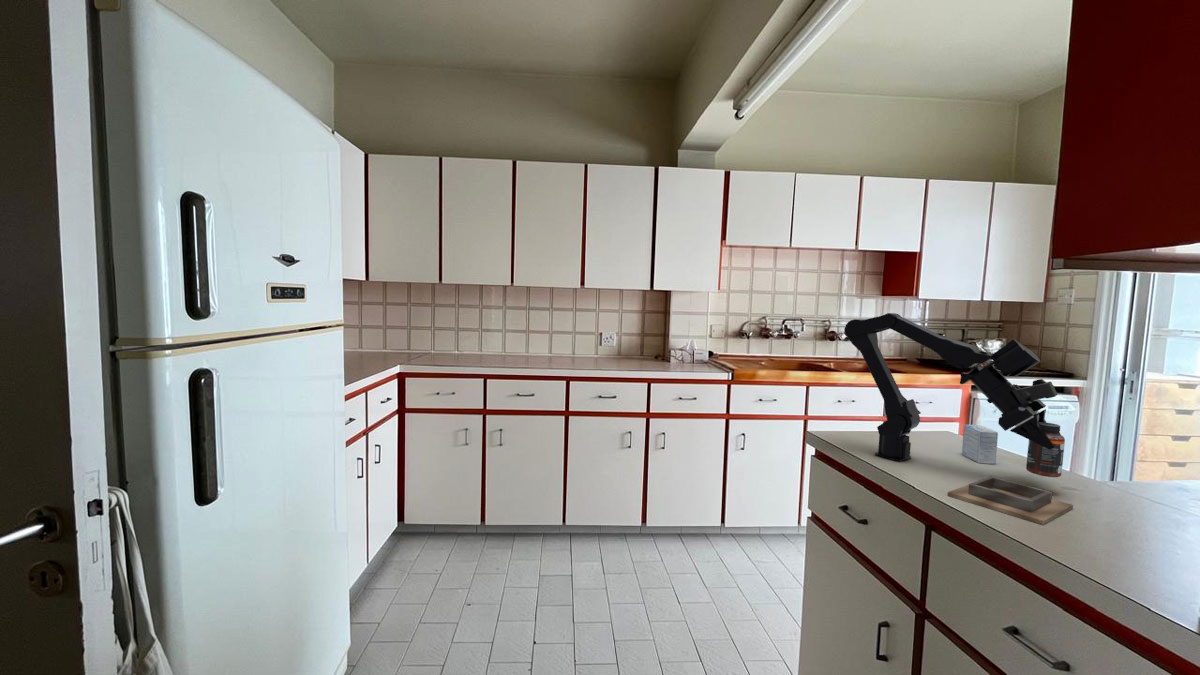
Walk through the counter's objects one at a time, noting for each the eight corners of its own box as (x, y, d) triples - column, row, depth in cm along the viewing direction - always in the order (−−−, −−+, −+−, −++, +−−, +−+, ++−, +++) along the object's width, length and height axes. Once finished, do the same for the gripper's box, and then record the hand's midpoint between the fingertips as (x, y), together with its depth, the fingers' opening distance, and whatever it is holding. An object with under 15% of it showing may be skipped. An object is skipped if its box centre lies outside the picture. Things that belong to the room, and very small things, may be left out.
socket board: (947, 495, 107) (948, 481, 107) (980, 483, 115) (981, 470, 115) (1042, 525, 93) (1044, 509, 93) (1072, 508, 102) (1074, 494, 102)
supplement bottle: (1068, 479, 108) (1074, 427, 107) (1041, 477, 108) (1046, 426, 108) (1045, 469, 114) (1050, 421, 113) (1018, 468, 114) (1023, 420, 114)
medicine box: (996, 464, 130) (999, 432, 130) (977, 463, 131) (980, 431, 131) (978, 456, 138) (981, 425, 138) (961, 454, 139) (963, 423, 138)
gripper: (1023, 370, 106) (1089, 432, 99) (1038, 365, 119) (1097, 420, 111) (974, 400, 113) (1033, 461, 105) (993, 392, 125) (1047, 446, 118)
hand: (1054, 446), depth 110 cm, fingers closed on supplement bottle, 6 cm apart
